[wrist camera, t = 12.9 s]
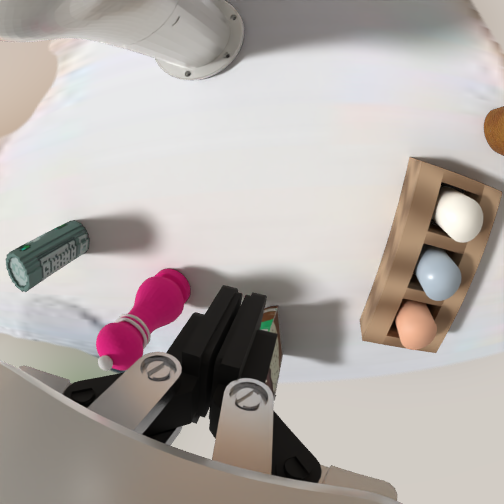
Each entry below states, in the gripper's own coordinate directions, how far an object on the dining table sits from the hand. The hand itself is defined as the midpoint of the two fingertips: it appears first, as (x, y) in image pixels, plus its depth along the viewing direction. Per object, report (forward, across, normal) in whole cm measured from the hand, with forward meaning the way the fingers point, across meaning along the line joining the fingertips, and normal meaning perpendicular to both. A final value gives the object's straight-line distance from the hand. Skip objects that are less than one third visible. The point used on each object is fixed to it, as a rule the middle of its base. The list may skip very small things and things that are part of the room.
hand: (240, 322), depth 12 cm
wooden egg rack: (+29, -19, +5) cm, 35 cm away
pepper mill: (+29, +16, +19) cm, 38 cm away
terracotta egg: (+28, -19, +12) cm, 36 cm away
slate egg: (+28, -19, +5) cm, 34 cm away
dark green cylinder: (+29, +36, +15) cm, 49 cm away
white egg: (+28, -19, -3) cm, 34 cm away
